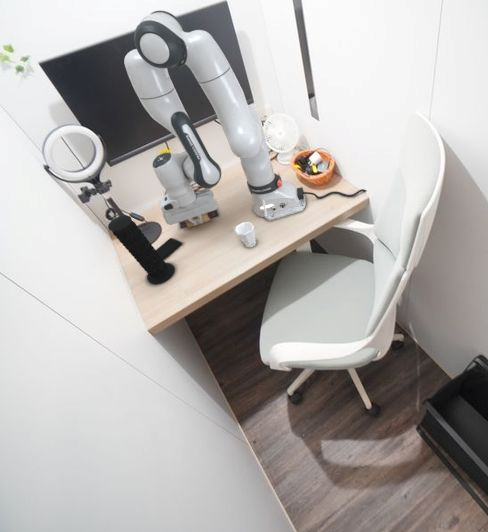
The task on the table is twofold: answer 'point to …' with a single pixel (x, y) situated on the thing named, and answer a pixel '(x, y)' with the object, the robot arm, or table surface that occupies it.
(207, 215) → the rolling pin
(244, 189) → the table surface
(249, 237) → the cup
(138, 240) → the handle grip
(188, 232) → the table surface
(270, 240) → the table surface
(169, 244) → the smartphone
